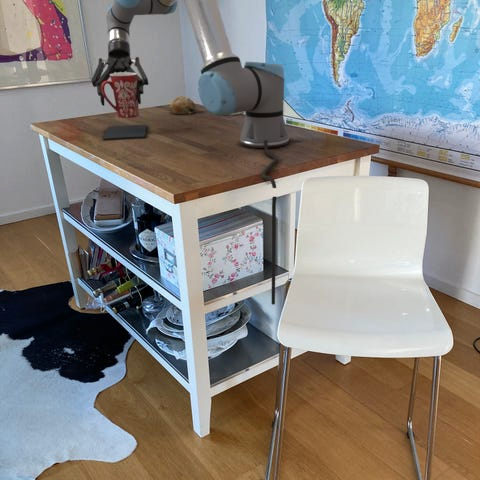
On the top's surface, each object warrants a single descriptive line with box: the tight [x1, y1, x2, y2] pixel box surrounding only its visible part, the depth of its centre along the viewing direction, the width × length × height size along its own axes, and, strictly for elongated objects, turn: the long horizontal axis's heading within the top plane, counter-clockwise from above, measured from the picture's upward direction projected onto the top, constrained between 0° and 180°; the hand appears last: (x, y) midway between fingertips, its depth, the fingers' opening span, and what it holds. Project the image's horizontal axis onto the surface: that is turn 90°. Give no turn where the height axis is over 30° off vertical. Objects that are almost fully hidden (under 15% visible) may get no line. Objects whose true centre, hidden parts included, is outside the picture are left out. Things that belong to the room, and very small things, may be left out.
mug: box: [101, 72, 140, 119], centre depth 176 cm, size 13×9×14 cm
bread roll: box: [168, 95, 197, 116], centre depth 212 cm, size 10×10×8 cm
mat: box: [102, 124, 148, 141], centre depth 182 cm, size 20×14×1 cm
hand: (120, 102), depth 175 cm, fingers closed on mug, 12 cm apart
